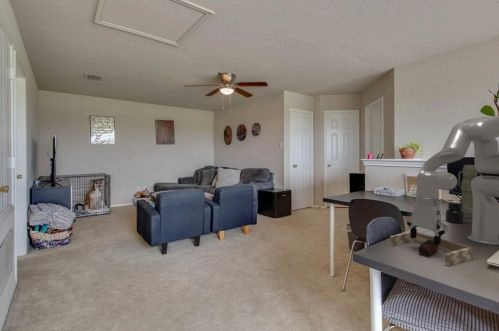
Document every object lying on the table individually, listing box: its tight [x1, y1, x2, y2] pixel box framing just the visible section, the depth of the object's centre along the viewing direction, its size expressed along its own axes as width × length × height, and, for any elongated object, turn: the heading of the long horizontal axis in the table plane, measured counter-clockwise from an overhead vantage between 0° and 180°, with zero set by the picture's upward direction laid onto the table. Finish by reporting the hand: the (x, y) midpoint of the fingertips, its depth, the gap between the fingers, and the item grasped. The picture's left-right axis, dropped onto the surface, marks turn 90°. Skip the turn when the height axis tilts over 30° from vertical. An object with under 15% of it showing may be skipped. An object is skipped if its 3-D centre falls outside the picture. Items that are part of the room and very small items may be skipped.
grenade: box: [457, 164, 483, 220], centre depth 171 cm, size 9×12×35 cm
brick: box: [418, 240, 439, 258], centre depth 110 cm, size 11×4×5 cm, turn 127°
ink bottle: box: [445, 201, 465, 224], centre depth 160 cm, size 10×9×12 cm
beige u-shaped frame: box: [389, 231, 474, 267], centre depth 112 cm, size 17×24×4 cm
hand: (424, 241), depth 111 cm, fingers open, 9 cm apart
